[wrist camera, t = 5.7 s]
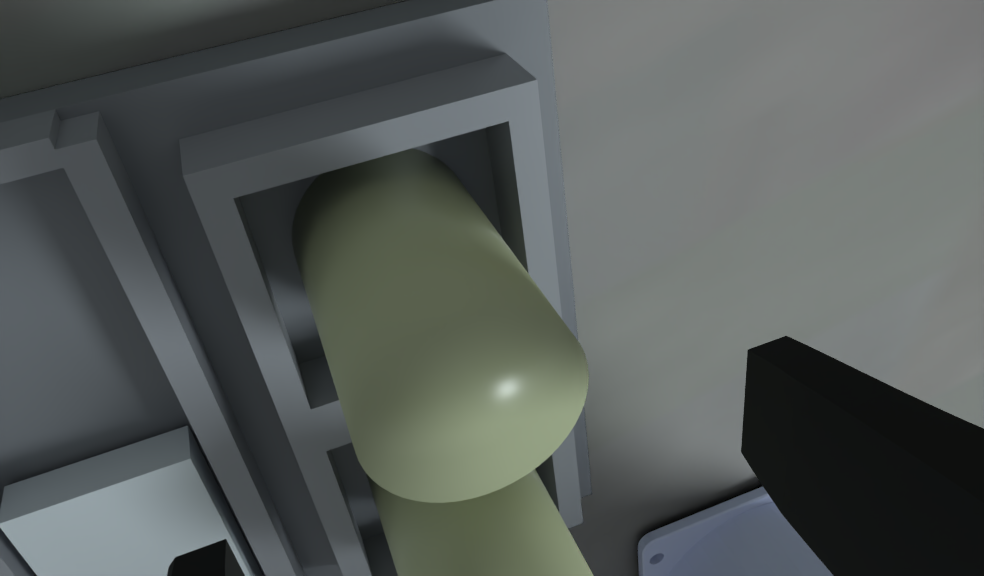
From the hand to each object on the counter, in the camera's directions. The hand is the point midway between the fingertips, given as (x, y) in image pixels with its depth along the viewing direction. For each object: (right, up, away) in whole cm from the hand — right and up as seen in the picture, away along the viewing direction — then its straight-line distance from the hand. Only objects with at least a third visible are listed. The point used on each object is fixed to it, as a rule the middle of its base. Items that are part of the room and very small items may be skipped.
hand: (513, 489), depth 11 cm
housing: (-5, +1, +8) cm, 9 cm away
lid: (-8, -4, +8) cm, 12 cm away
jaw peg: (-2, +4, +5) cm, 7 cm away
